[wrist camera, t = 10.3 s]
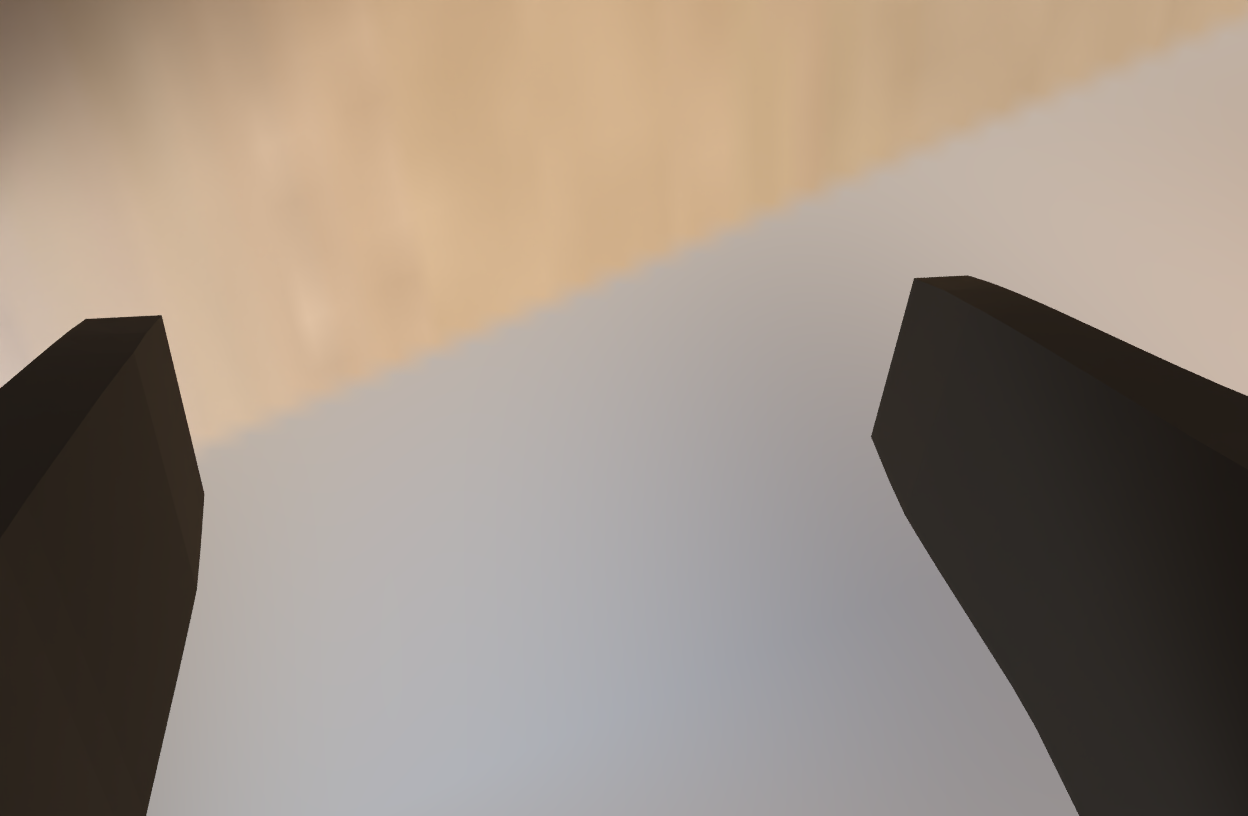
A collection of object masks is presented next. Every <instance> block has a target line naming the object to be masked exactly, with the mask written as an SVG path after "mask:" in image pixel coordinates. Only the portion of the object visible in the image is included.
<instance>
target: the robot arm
mask: <svg viewBox="0 0 1248 816" xmlns="http://www.w3.org/2000/svg"><path fill="white" fill-rule="evenodd" d="M871 437H872V440H873V442H874V445H875V447H876V449H877V452H878V454H879V457H880V459H881V462H882V464H883V467H884V469H885V471H886V474H887V476H888V479H889V481H890V483H891V486H892V488H893V490H894V492H895V494H896V496H897V499H898V501H899V503H900V505H901V507H902V509H903V512H904V514H905V516H906V517H907V519H908V521H909V522H910V524H911V526H912V527H913V529H914V531H915V533H916V534H917V536H918V537H919V539H920V541H921V542H922V544H923V545H924V547H925V549H926V550H927V552H928V554H929V555H930V557H931V559H932V560H933V562H934V563H935V565H936V567H937V568H938V570H939V571H940V573H941V575H942V576H943V578H944V579H945V581H946V583H947V584H948V586H949V587H950V589H951V590H952V592H953V594H954V595H955V597H956V598H957V600H958V601H959V603H960V605H961V606H962V608H963V609H964V611H965V613H966V614H967V615H968V617H969V619H970V620H971V622H972V623H973V625H974V627H975V628H976V629H977V631H978V633H979V635H980V636H981V638H982V639H983V641H984V643H985V644H986V645H987V647H988V649H989V650H990V652H991V653H992V655H993V657H994V658H995V660H996V661H997V663H998V664H999V666H1000V668H1001V669H1002V671H1003V672H1004V674H1005V676H1006V677H1007V679H1008V680H1009V682H1010V683H1011V685H1012V687H1013V688H1014V690H1015V692H1016V694H1017V695H1018V697H1019V699H1020V701H1021V702H1022V704H1023V706H1024V708H1025V709H1026V711H1027V713H1028V715H1029V716H1030V718H1031V720H1032V722H1033V723H1034V725H1035V727H1036V729H1037V731H1038V733H1039V735H1040V737H1041V739H1042V741H1043V743H1044V745H1045V747H1046V749H1047V751H1048V753H1049V755H1050V757H1051V759H1052V761H1053V763H1054V765H1055V767H1056V769H1057V771H1058V773H1059V775H1060V777H1061V779H1062V782H1063V783H1064V785H1065V788H1066V790H1067V792H1068V794H1069V796H1070V798H1071V800H1072V802H1073V804H1074V806H1075V808H1076V810H1077V812H1078V814H1079V816H1248V396H1246V395H1243V394H1241V393H1239V392H1236V391H1234V390H1231V389H1229V388H1227V387H1224V386H1222V385H1220V384H1217V383H1215V382H1213V381H1211V380H1208V379H1206V378H1204V377H1201V376H1199V375H1197V374H1195V373H1192V372H1190V371H1188V370H1186V369H1183V368H1181V367H1179V366H1177V365H1174V364H1172V363H1170V362H1168V361H1166V360H1163V359H1161V358H1159V357H1157V356H1154V355H1152V354H1150V353H1148V352H1146V351H1144V350H1142V349H1139V348H1137V347H1135V346H1133V345H1131V344H1128V343H1126V342H1124V341H1122V340H1120V339H1118V338H1115V337H1113V336H1111V335H1109V334H1107V333H1105V332H1103V331H1100V330H1098V329H1096V328H1094V327H1092V326H1090V325H1088V324H1085V323H1083V322H1081V321H1079V320H1076V319H1074V318H1072V317H1070V316H1068V315H1066V314H1064V313H1061V312H1059V311H1057V310H1055V309H1053V308H1050V307H1048V306H1046V305H1044V304H1042V303H1039V302H1037V301H1034V300H1032V299H1030V298H1028V297H1025V296H1023V295H1021V294H1018V293H1015V292H1013V291H1011V290H1008V289H1006V288H1003V287H1000V286H998V285H995V284H992V283H990V282H987V281H984V280H980V279H977V278H974V277H971V276H949V277H929V278H914V281H913V284H912V288H911V292H910V295H909V299H908V303H907V307H906V310H905V314H904V317H903V321H902V325H901V329H900V332H899V336H898V340H897V343H896V347H895V351H894V354H893V358H892V362H891V365H890V369H889V373H888V377H887V380H886V384H885V387H884V391H883V395H882V399H881V402H880V406H879V410H878V413H877V417H876V421H875V425H874V428H873V432H872V435H871ZM203 506H204V491H203V486H202V482H201V478H200V474H199V470H198V466H197V461H196V457H195V453H194V449H193V445H192V441H191V436H190V432H189V428H188V424H187V420H186V415H185V411H184V407H183V403H182V399H181V395H180V390H179V386H178V382H177V378H176V374H175V370H174V365H173V361H172V357H171V353H170V349H169V344H168V340H167V336H166V332H165V328H164V324H163V319H162V315H158V316H138V317H118V318H97V319H85V320H84V321H82V322H81V323H80V324H78V325H77V326H75V327H74V328H72V329H71V330H70V331H69V332H67V333H66V334H65V335H63V336H62V337H61V338H60V339H59V340H57V341H56V342H55V343H54V344H52V345H51V346H50V347H49V348H48V349H46V350H45V351H44V352H43V353H42V354H40V355H39V356H38V357H37V358H36V359H34V360H33V361H32V362H31V363H30V364H29V365H27V366H26V367H25V368H24V369H23V370H21V371H20V372H19V373H18V374H17V375H16V376H14V377H13V378H12V379H11V380H10V381H8V382H7V383H6V384H5V385H4V386H3V387H1V388H0V816H146V813H147V809H148V804H149V800H150V796H151V791H152V787H153V783H154V778H155V774H156V770H157V765H158V760H159V756H160V752H161V748H162V743H163V739H164V734H165V730H166V726H167V721H168V717H169V712H170V707H171V703H172V699H173V695H174V690H175V686H176V681H177V677H178V673H179V669H180V664H181V660H182V655H183V651H184V646H185V641H186V637H187V632H188V628H189V623H190V619H191V614H192V610H193V605H194V600H195V595H196V591H197V580H198V569H199V559H200V548H201V534H202V519H203Z"/></svg>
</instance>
